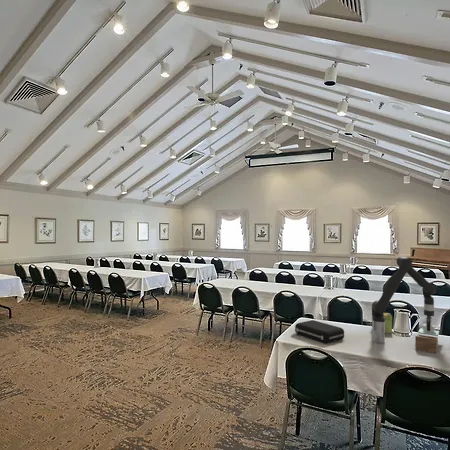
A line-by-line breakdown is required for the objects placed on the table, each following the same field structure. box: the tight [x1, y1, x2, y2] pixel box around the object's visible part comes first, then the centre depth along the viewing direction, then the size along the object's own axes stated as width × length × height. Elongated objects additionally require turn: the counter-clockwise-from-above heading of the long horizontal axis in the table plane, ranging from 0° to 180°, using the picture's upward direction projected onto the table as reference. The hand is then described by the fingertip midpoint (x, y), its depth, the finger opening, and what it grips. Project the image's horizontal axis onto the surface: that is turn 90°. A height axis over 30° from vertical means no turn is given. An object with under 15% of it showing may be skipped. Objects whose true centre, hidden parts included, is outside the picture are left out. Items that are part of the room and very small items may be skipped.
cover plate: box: [417, 323, 440, 337], centre depth 292 cm, size 14×14×6 cm
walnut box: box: [414, 333, 439, 354], centre depth 276 cm, size 16×14×10 cm
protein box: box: [371, 312, 393, 334], centre depth 324 cm, size 10×15×16 cm
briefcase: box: [294, 319, 345, 345], centre depth 306 cm, size 36×32×10 cm
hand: (428, 330), depth 292 cm, fingers closed on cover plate, 4 cm apart
